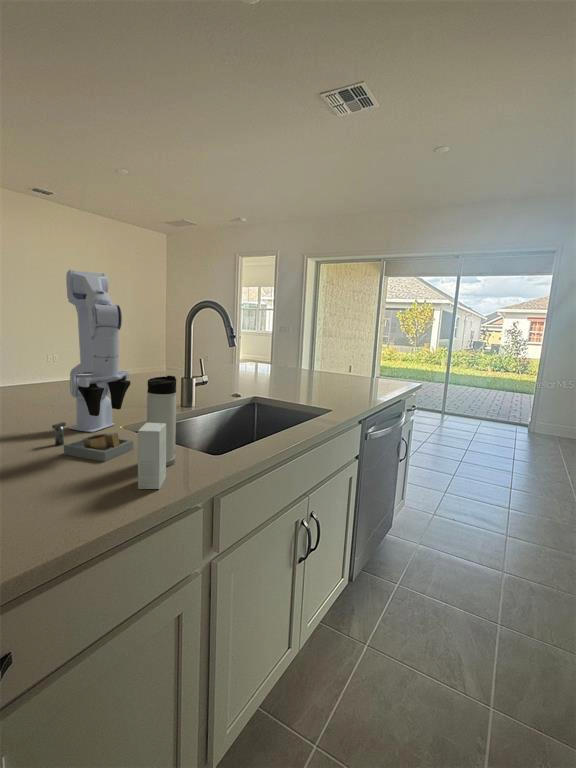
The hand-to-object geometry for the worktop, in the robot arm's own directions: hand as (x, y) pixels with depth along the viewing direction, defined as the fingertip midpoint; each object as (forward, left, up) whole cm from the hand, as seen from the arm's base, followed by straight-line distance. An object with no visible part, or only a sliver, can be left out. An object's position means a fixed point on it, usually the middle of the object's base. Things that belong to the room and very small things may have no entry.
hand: (105, 411), depth 95 cm
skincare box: (+13, +22, -10) cm, 27 cm away
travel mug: (+2, +17, -10) cm, 19 cm away
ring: (+2, +1, -8) cm, 8 cm away
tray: (+2, 0, -10) cm, 10 cm away
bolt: (+2, -12, -10) cm, 16 cm away
